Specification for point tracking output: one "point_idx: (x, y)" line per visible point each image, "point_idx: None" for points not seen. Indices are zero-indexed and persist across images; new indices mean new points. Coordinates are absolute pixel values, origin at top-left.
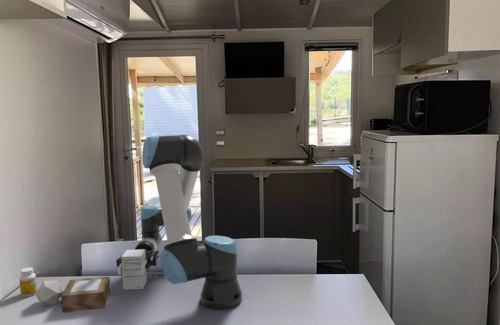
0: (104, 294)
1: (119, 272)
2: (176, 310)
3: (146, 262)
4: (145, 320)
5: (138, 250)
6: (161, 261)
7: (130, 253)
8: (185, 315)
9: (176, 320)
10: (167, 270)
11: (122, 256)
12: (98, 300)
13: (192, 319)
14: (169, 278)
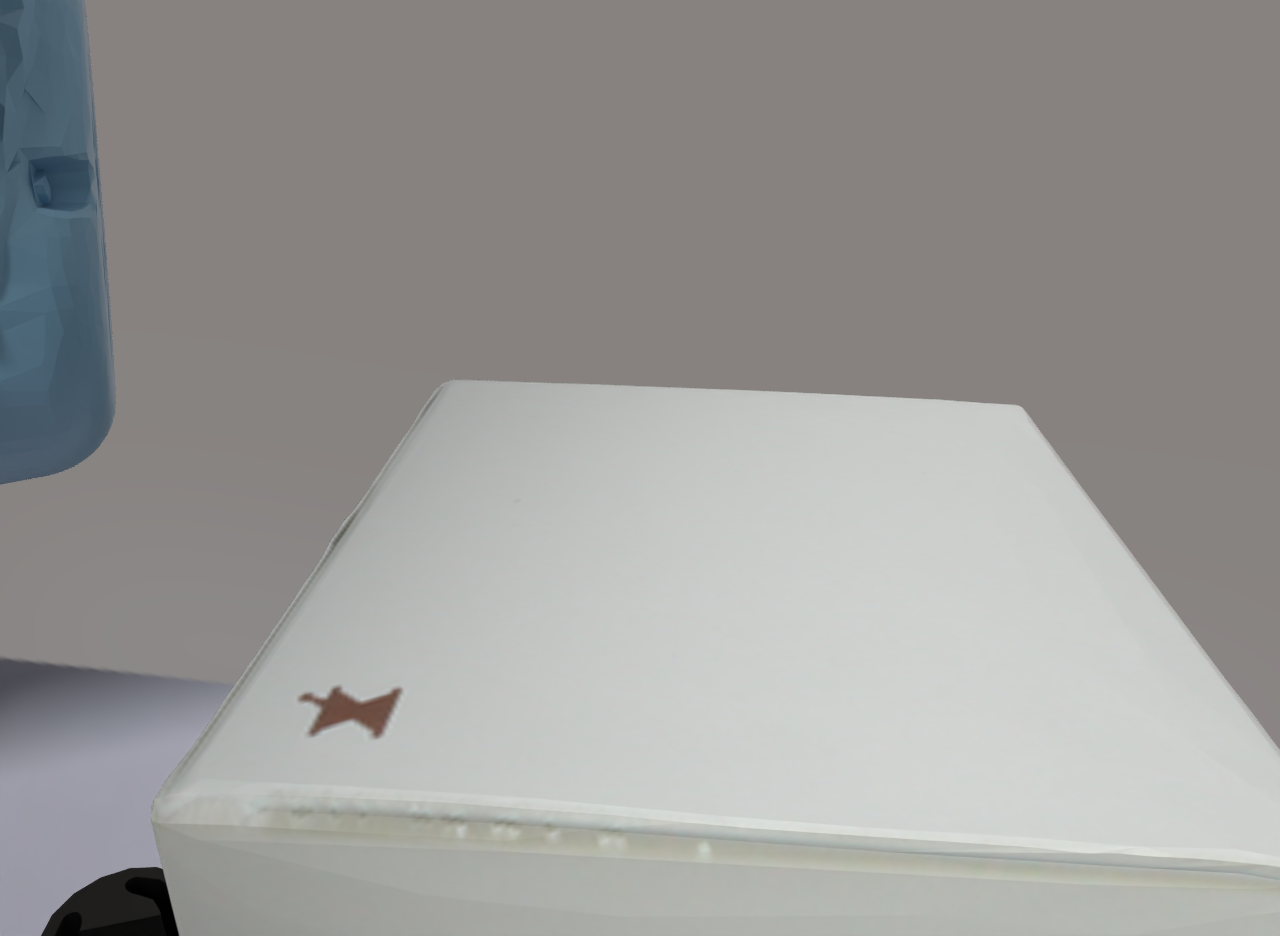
0: None
1: None
2: (89, 825)
3: None
4: None
5: (551, 669)
6: (95, 201)
7: (831, 487)
8: (48, 731)
9: (177, 678)
10: (102, 232)
11: (999, 410)
12: None
13: (23, 672)
14: (111, 328)
